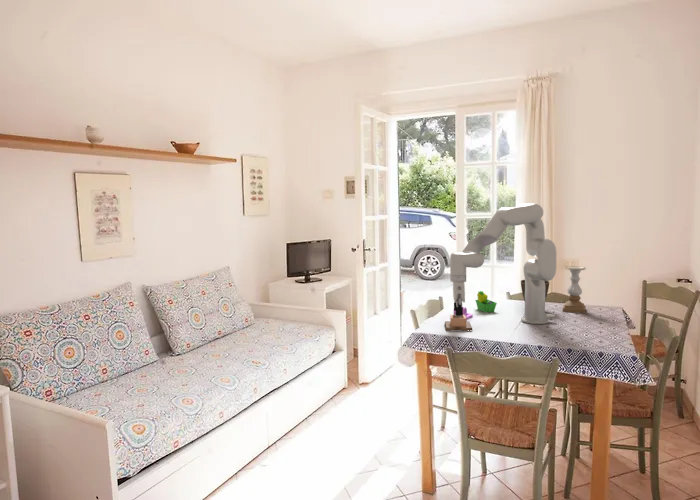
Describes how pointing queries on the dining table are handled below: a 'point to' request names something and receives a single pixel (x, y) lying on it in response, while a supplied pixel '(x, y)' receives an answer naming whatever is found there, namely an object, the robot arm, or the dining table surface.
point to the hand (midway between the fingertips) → (458, 312)
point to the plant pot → (524, 288)
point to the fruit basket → (485, 303)
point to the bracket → (468, 315)
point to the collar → (458, 320)
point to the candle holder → (574, 292)
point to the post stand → (449, 327)
